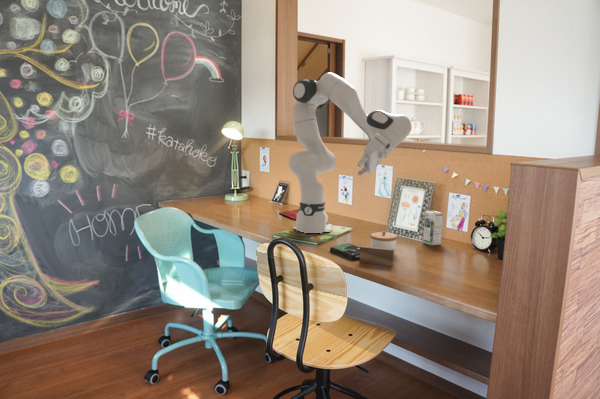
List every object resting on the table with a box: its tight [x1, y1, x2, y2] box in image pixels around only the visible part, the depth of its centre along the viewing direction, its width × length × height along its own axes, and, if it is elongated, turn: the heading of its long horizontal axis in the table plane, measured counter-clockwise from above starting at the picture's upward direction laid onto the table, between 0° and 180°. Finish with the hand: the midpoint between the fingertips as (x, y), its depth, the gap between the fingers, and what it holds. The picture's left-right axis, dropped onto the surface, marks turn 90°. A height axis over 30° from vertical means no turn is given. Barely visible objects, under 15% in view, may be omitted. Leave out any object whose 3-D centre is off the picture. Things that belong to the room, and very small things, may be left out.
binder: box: [279, 208, 300, 221], centre depth 263 cm, size 16×2×21 cm
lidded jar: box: [369, 230, 398, 250], centre depth 190 cm, size 11×11×9 cm
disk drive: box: [329, 242, 361, 261], centre depth 189 cm, size 10×3×15 cm
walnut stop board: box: [359, 245, 395, 267], centre depth 177 cm, size 2×12×6 cm, turn 71°
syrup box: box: [422, 210, 444, 246], centre depth 206 cm, size 6×6×14 cm
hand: (358, 170), depth 189 cm, fingers open, 8 cm apart
